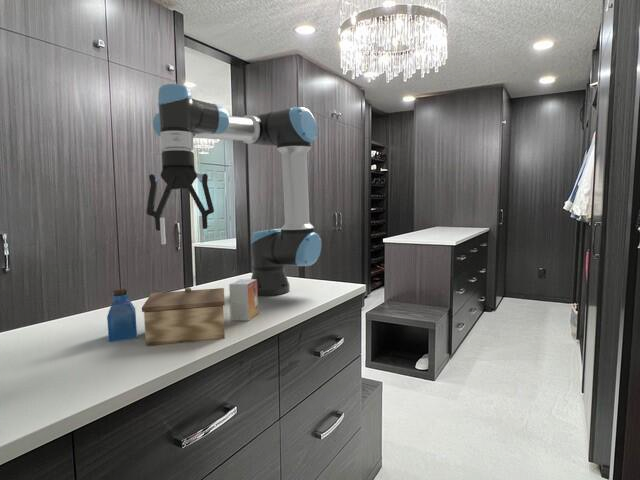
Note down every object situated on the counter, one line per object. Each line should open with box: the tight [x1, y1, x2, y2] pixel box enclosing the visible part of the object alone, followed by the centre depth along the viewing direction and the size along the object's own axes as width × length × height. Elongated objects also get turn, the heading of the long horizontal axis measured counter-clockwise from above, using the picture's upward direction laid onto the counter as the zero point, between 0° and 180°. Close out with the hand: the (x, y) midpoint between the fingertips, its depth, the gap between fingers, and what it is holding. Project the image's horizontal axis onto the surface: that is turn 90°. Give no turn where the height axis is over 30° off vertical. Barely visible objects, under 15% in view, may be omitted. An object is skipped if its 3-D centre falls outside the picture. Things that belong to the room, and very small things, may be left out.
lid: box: [141, 287, 226, 313], centre depth 105 cm, size 19×14×2 cm
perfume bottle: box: [106, 288, 138, 343], centre depth 105 cm, size 6×6×12 cm
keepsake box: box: [143, 305, 226, 347], centre depth 106 cm, size 18×14×8 cm
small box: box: [228, 278, 259, 322], centre depth 120 cm, size 8×6×10 cm
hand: (183, 242), depth 103 cm, fingers open, 8 cm apart
